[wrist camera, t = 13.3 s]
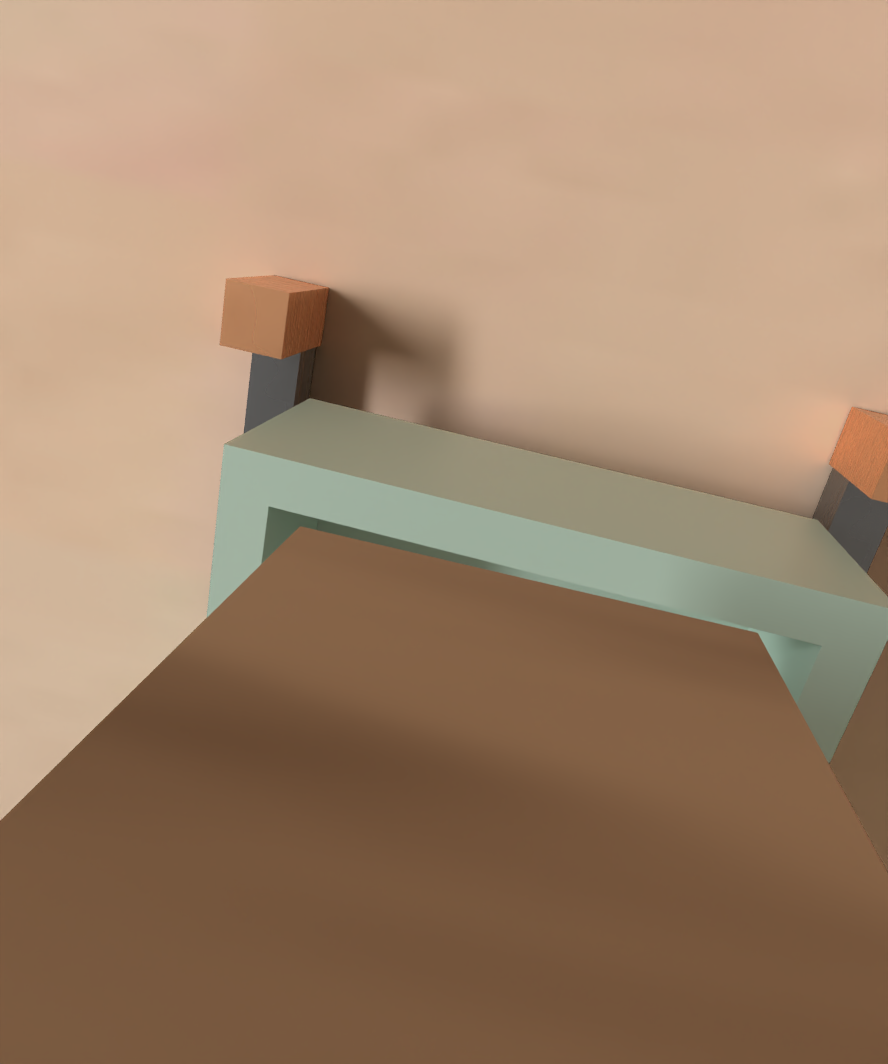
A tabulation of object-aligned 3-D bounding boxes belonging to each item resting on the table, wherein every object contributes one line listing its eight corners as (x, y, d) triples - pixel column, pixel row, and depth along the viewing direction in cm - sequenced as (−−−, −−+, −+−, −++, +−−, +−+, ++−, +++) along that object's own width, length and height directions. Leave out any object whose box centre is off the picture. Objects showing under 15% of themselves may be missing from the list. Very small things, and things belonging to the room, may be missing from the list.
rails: (624, 1085, 22) (629, 1177, 20) (195, 955, 23) (155, 1029, 21) (913, 420, 15) (972, 449, 13) (274, 275, 16) (225, 278, 14)
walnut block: (628, 978, 9) (751, 2231, 3) (252, 876, 9) (-241, 1853, 4) (757, 632, 7) (1431, 1876, 2) (299, 526, 8) (-449, 1263, 2)
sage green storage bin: (652, 866, 19) (679, 1080, 14) (275, 760, 20) (175, 928, 15) (797, 498, 16) (901, 610, 11) (330, 386, 17) (224, 444, 12)
